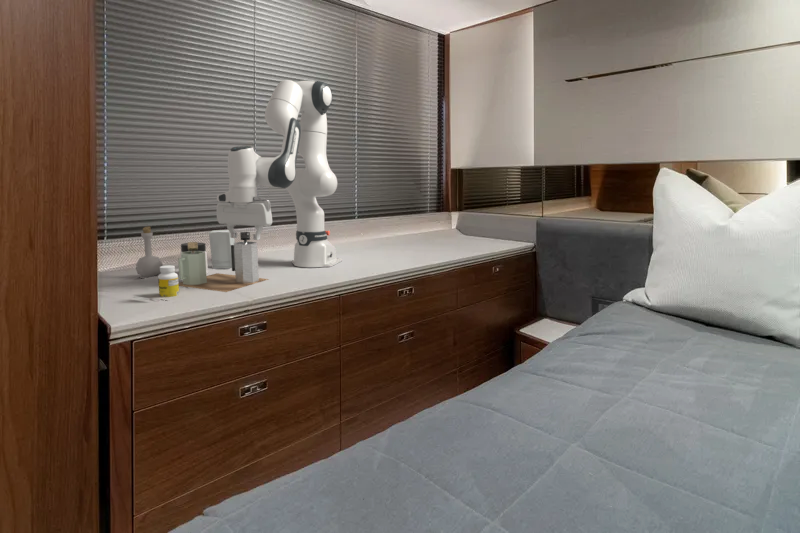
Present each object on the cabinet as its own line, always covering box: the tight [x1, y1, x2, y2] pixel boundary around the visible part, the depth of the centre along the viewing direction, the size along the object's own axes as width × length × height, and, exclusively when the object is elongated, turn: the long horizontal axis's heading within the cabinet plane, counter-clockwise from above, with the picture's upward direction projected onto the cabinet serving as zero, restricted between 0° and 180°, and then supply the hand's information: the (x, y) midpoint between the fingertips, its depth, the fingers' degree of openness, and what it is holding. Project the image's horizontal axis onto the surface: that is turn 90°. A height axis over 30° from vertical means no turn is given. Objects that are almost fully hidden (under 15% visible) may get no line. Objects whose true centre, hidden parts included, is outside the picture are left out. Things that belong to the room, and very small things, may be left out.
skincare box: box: [208, 229, 236, 270], centre depth 194 cm, size 8×6×15 cm
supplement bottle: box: [157, 265, 180, 302], centre depth 146 cm, size 5×5×10 cm
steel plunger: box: [239, 231, 251, 244], centre depth 165 cm, size 5×5×11 cm
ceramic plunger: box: [187, 241, 199, 254], centre depth 162 cm, size 5×5×10 cm
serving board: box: [178, 272, 270, 293], centre depth 165 cm, size 21×23×1 cm
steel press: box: [231, 240, 260, 284], centre depth 166 cm, size 7×10×13 cm
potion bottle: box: [135, 225, 164, 280], centre depth 175 cm, size 9×9×18 cm
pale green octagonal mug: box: [177, 251, 207, 285], centre depth 162 cm, size 10×7×10 cm
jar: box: [180, 241, 209, 275], centre depth 177 cm, size 9×8×12 cm
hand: (245, 238), depth 164 cm, fingers open, 8 cm apart
